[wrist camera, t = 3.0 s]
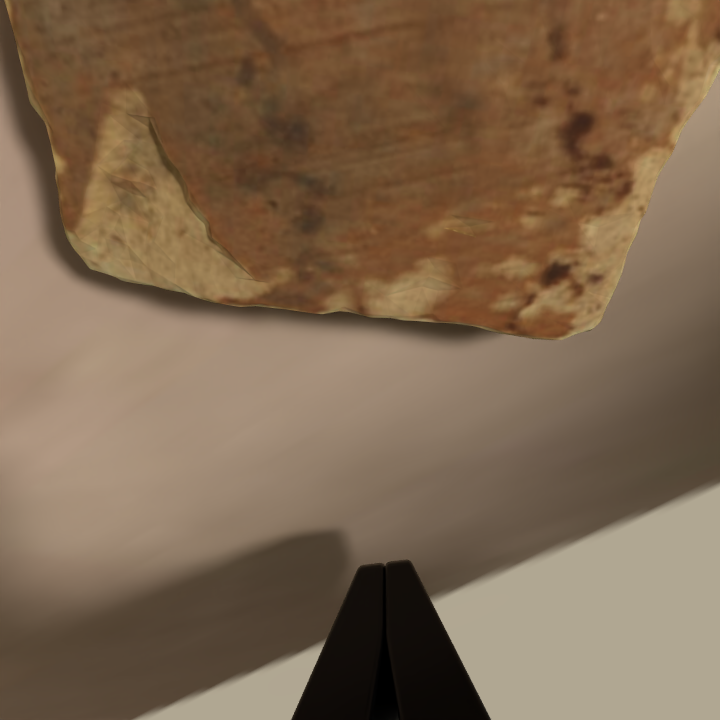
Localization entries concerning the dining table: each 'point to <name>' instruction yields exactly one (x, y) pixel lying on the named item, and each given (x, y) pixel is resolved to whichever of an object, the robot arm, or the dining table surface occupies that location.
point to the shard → (367, 147)
